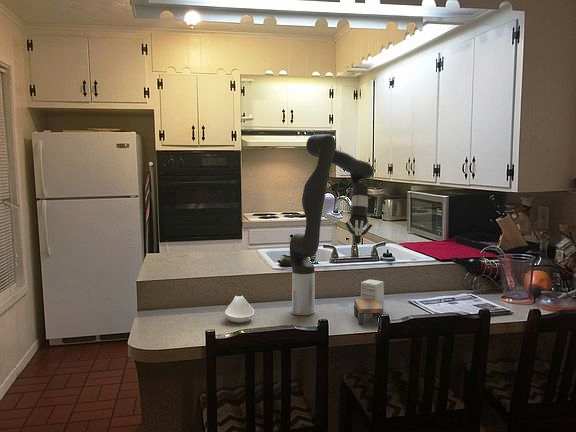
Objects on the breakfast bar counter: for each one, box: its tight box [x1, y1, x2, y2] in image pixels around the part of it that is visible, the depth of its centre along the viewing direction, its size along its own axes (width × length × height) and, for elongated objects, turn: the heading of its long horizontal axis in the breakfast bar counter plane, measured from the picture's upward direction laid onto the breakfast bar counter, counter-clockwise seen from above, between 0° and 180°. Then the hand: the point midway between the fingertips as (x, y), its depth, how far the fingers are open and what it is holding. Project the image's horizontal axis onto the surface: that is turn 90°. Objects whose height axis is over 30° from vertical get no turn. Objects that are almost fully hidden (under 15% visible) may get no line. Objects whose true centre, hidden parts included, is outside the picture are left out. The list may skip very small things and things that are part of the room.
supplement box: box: [360, 279, 385, 315], centre depth 209 cm, size 7×7×13 cm
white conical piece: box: [224, 295, 255, 324], centre depth 203 cm, size 24×12×7 cm, turn 8°
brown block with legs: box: [353, 298, 384, 325], centre depth 196 cm, size 9×15×7 cm, turn 2°
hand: (357, 244), depth 224 cm, fingers closed
